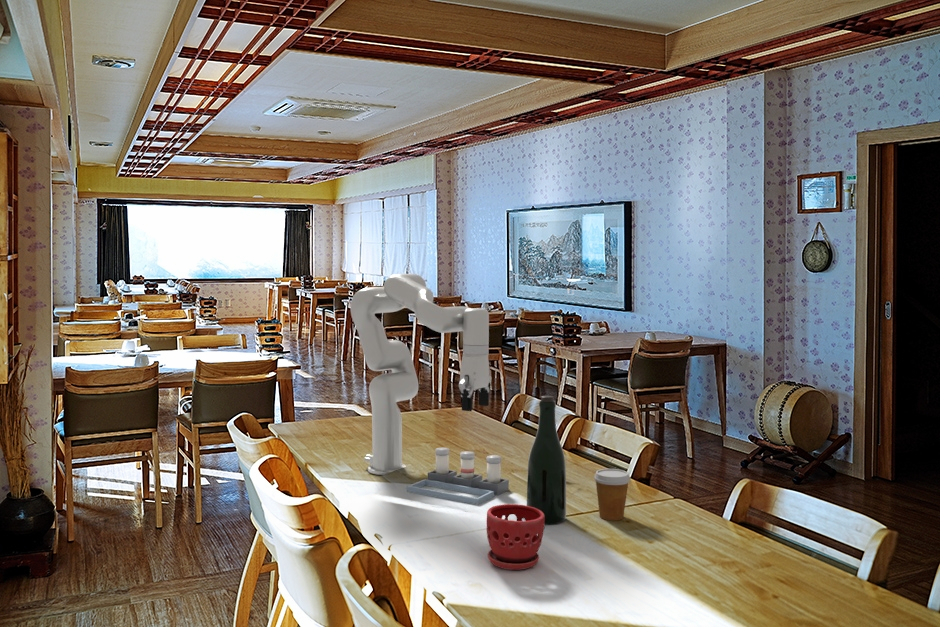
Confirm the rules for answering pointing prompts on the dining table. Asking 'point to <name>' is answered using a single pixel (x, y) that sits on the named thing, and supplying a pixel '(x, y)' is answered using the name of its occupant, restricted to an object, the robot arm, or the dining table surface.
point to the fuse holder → (470, 481)
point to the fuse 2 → (494, 469)
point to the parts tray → (416, 489)
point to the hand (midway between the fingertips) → (475, 408)
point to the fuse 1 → (442, 461)
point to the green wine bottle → (547, 467)
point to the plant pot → (514, 536)
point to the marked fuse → (467, 464)
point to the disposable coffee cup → (611, 492)
